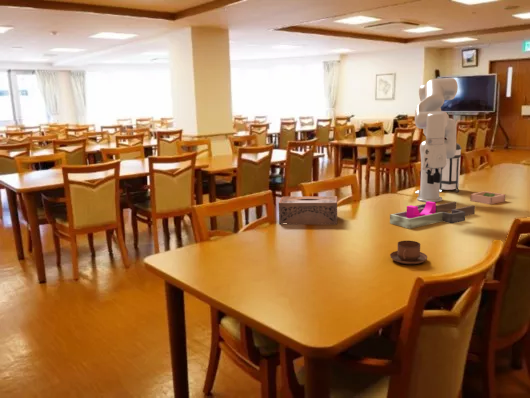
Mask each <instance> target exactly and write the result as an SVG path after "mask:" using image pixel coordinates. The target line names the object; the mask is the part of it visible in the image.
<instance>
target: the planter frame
mask: <svg viewBox="0 0 530 398" xmlns="http://www.w3.org/2000/svg"><path fill="white" fill-rule="evenodd" d="M485 193H489V194H492V193H494V194H495V196H493V197H487V196H483V195H484V194H485ZM469 199H470V202H475V203H480V204H487V205H493V204H499V203H505V202H506V194H503V193H498V192H494V191H493V192H491V191H487V190H486V191H485V190H484V191H479V192H474V193H471V194H470V198H469Z"/></svg>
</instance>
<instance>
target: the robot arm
mask: <svg viewBox="0 0 530 398" xmlns="http://www.w3.org/2000/svg"><path fill="white" fill-rule="evenodd" d="M458 87H459V86H458V83H457V80H456V79H455V78H452V77H445V78H444V77H442V78H441V77H440V78H431V79H429V80H428V81H426V83H425V84H422V85H420V86H419V89H418V96H419V100H420V102H419V103H418V104H417V106H416V108H415V110H414V123H415V127H416V128H418V129H420V130H421V129H423V131H422V132H423V135H424V136H425V140H423V141H422V142H421V143H420V145H419V153H420V188H419V189H417V190H416V191H415V194H416V195H418V196H417V197H416V199H417V201H419V202H424V203H426V202H428V201H430V202H435V203H437V202H442V201H443V197H441V196H440V192H439V189H440V174H441V171H442V169H443V168H444V167H445V166H446V158H453V157H454V156H455V153H456V143H457V123H456V120H455V119H454V118H450V115H449V114H448V113H447V111H443V110H442V108H441V107H443V105H444V104H445V101H451V100H454V99H455V97H456V96H457V93H458V89H459V88H458ZM445 138H446V139H445Z"/></svg>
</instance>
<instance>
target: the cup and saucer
mask: <svg viewBox="0 0 530 398" xmlns="http://www.w3.org/2000/svg"><path fill="white" fill-rule="evenodd" d="M389 256H390V258H391V259H392V260H393V261H395V262H396V263H400V264H403V265H418V264H422V263H424V262H426V261H427V259H428V255H427V254H426V253H424V252H421V243H420V242H419V241H415V240H400V241H398V242H397V250H395V251H392V252H391V253H390V254H389Z"/></svg>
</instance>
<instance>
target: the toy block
mask: <svg viewBox="0 0 530 398" xmlns="http://www.w3.org/2000/svg"><path fill="white" fill-rule="evenodd" d="M425 204H426V205H425V208H424V209H423V211H422V212H421V213H419V210H418V207H417V205H412V204H411V205H407V206H406V211H407V217H406V218H415V217H419V216H424V215H429V214H434V213H436V205H437V202H430V201H428V202H425Z"/></svg>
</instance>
